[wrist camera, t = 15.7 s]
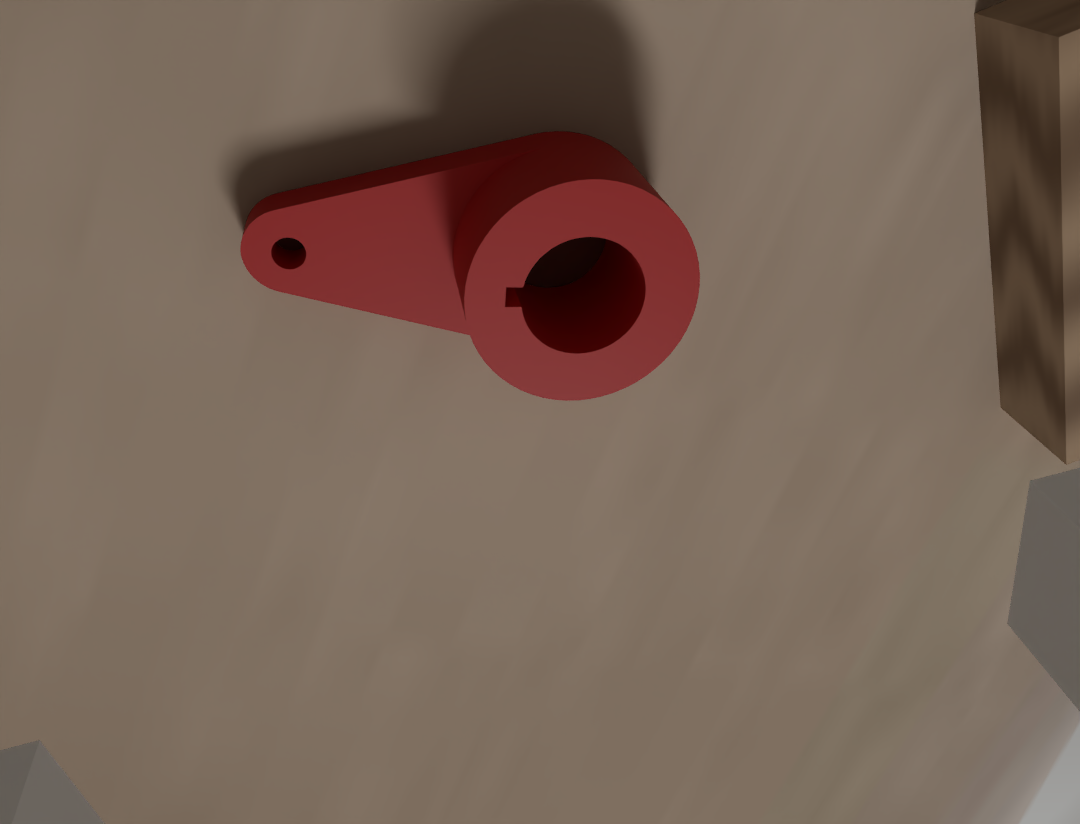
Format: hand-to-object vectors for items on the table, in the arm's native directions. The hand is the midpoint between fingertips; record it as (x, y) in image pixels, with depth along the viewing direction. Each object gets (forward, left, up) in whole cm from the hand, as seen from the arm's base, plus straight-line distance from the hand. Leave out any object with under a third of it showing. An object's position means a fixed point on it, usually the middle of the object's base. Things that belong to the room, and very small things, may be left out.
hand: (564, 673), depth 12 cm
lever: (+6, +1, -31) cm, 31 cm away
